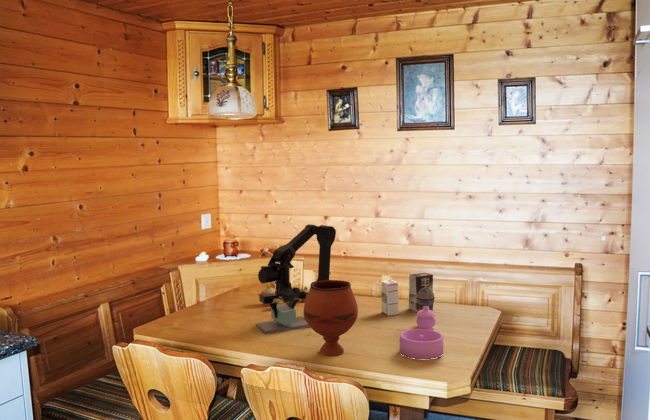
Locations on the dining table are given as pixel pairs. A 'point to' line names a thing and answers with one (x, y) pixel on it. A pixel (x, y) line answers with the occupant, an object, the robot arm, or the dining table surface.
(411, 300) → the coffee box
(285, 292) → the robot arm
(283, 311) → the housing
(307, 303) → the goblet
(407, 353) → the container set
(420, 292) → the beverage cup
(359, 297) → the dining table surface
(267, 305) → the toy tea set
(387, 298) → the syrup box
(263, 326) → the plate
